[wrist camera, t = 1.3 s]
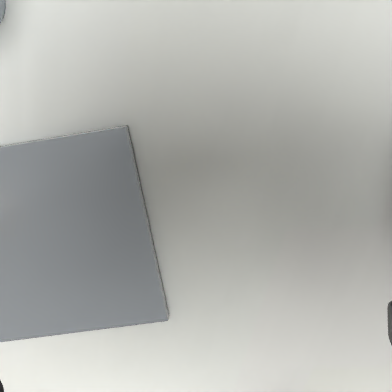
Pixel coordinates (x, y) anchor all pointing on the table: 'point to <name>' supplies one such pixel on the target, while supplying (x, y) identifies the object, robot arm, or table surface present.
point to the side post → (2, 9)
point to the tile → (75, 238)
